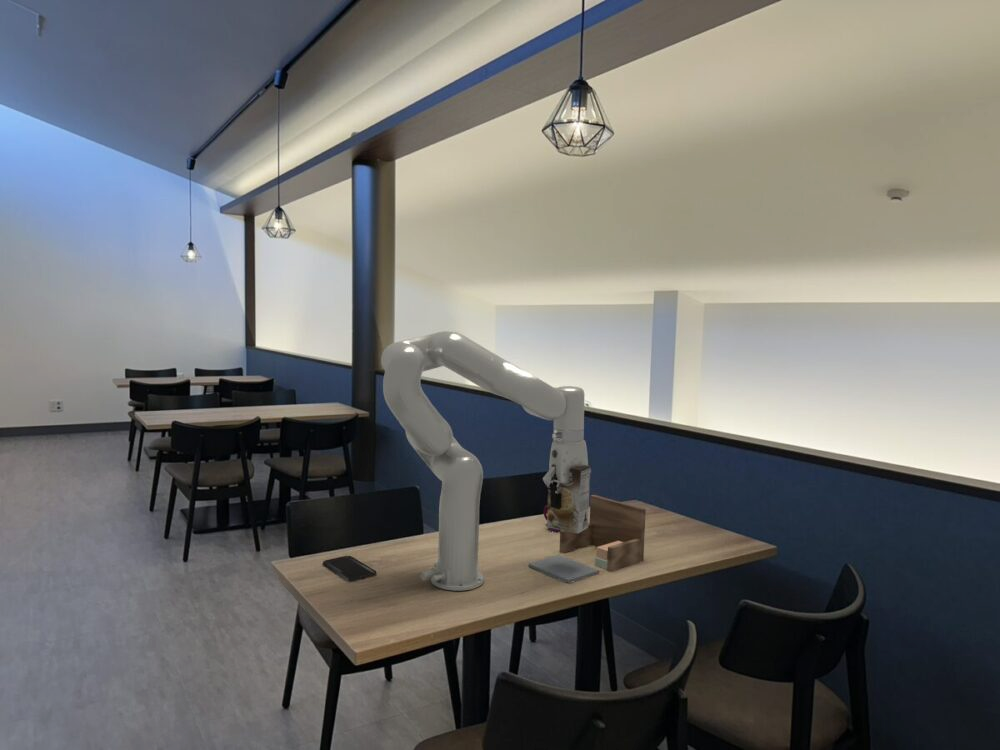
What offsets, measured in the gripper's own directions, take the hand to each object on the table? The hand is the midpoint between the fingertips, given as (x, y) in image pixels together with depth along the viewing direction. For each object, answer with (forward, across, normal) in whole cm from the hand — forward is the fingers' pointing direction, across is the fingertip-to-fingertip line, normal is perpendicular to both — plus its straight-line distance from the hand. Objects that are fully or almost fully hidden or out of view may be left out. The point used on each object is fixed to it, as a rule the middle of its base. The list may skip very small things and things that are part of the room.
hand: (567, 504), depth 166 cm
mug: (+17, +23, +26) cm, 39 cm away
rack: (+17, +14, +1) cm, 22 cm away
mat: (+17, -1, 0) cm, 17 cm away
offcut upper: (+15, +14, -4) cm, 21 cm away
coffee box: (+6, 0, 0) cm, 6 cm away
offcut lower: (+18, +14, -4) cm, 23 cm away
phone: (+16, -44, +32) cm, 57 cm away
